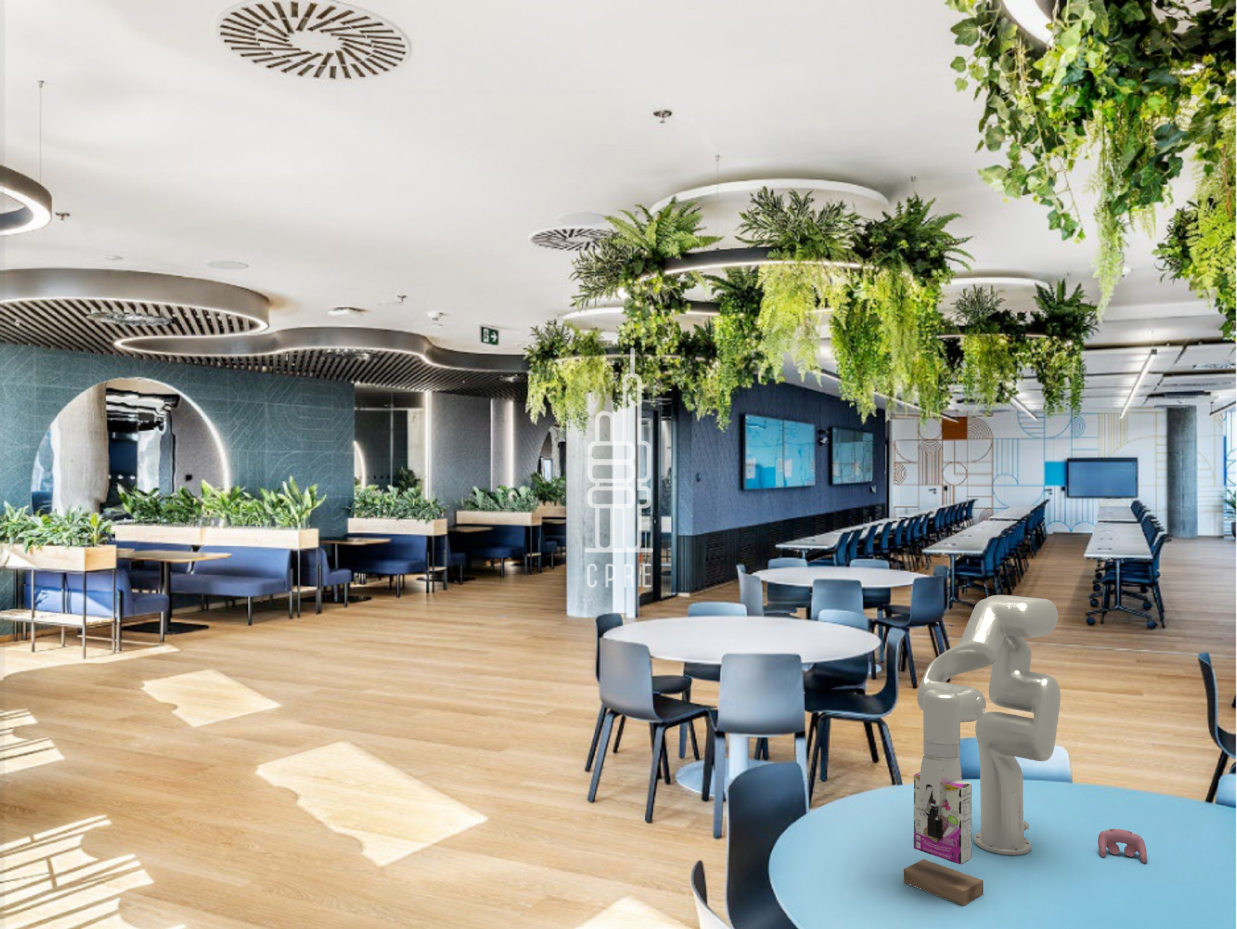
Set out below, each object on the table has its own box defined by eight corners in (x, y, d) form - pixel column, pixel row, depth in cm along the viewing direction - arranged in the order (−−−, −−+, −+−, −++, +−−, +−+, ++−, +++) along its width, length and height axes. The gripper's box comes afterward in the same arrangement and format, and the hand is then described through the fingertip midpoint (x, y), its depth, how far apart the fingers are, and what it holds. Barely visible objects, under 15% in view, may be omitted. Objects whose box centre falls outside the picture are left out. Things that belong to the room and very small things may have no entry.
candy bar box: (912, 849, 195) (912, 773, 195) (924, 843, 198) (924, 769, 198) (961, 866, 186) (960, 786, 187) (972, 859, 189) (972, 781, 190)
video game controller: (1146, 865, 207) (1143, 833, 210) (1148, 863, 203) (1146, 830, 206) (1097, 858, 211) (1096, 827, 214) (1099, 856, 207) (1097, 824, 210)
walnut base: (923, 872, 200) (923, 858, 200) (983, 894, 189) (983, 880, 189) (903, 882, 195) (903, 868, 195) (963, 906, 184) (963, 891, 184)
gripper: (946, 738, 201) (947, 819, 201) (904, 752, 190) (904, 838, 190) (978, 745, 195) (978, 829, 195) (936, 760, 184) (937, 849, 184)
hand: (942, 832), depth 192 cm, fingers closed on candy bar box, 5 cm apart
